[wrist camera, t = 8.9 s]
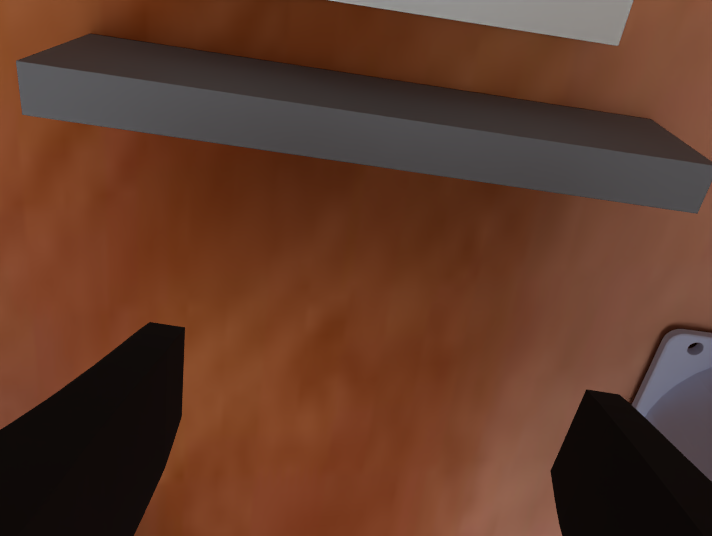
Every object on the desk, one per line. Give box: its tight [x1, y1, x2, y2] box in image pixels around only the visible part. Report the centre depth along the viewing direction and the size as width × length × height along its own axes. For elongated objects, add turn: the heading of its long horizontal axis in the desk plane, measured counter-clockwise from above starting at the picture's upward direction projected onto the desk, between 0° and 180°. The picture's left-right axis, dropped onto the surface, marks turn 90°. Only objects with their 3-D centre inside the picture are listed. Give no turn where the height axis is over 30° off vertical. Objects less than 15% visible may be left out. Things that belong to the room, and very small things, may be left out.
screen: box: [16, 34, 712, 213], centre depth 16 cm, size 16×1×4 cm, turn 82°
